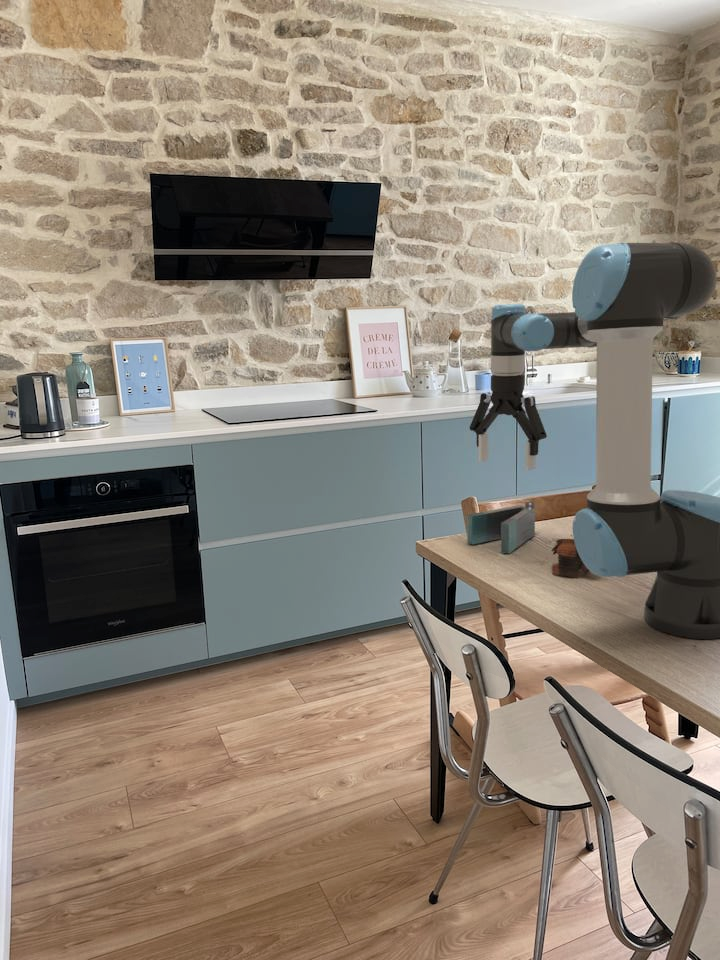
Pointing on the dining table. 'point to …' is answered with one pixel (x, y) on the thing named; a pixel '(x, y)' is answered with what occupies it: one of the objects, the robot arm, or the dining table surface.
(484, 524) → the left tong arm
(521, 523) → the right tong arm
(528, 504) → the pivot post
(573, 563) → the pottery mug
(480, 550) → the dining table surface
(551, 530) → the dining table surface
